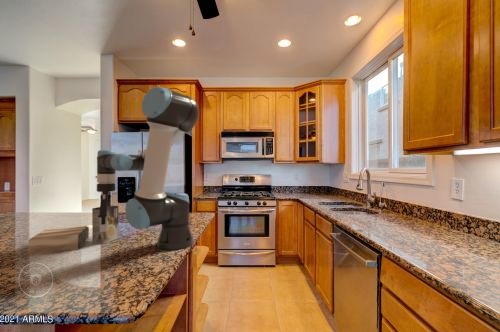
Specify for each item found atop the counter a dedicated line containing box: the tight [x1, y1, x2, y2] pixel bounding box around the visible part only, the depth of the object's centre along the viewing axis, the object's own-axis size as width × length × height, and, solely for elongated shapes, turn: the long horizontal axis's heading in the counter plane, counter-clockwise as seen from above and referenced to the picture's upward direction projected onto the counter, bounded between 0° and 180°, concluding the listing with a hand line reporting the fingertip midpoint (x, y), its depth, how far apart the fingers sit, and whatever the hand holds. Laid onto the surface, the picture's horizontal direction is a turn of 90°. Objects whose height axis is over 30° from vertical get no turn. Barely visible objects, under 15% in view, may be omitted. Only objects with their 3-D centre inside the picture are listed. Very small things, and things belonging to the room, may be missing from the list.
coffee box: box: [91, 205, 119, 245], centre depth 111 cm, size 9×6×16 cm
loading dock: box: [27, 225, 90, 256], centre depth 104 cm, size 18×17×6 cm
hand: (105, 228), depth 111 cm, fingers open, 13 cm apart
